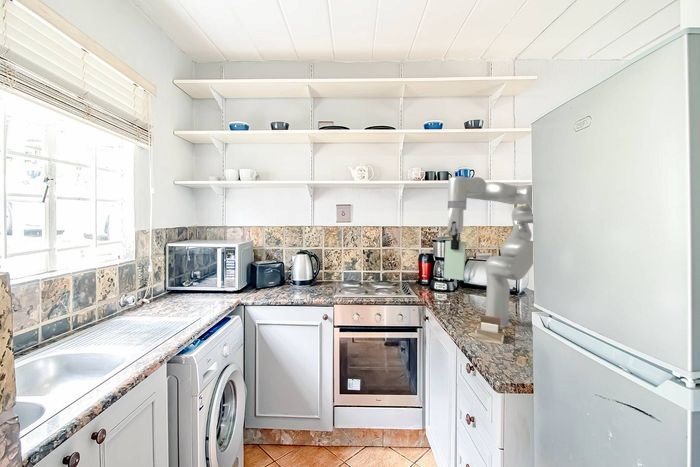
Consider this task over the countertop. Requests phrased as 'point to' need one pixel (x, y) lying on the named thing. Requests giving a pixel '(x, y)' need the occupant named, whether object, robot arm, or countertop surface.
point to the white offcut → (489, 327)
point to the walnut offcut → (490, 320)
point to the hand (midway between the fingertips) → (455, 249)
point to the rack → (490, 335)
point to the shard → (472, 322)
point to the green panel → (454, 261)
